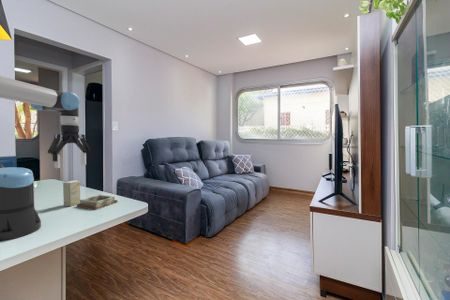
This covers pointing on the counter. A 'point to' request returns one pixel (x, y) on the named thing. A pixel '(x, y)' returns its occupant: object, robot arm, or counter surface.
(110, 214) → the counter surface
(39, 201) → the counter surface
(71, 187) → the skincare box
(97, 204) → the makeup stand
